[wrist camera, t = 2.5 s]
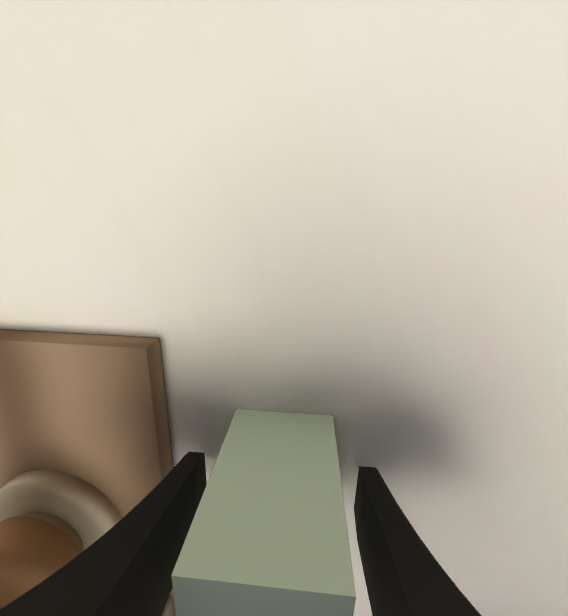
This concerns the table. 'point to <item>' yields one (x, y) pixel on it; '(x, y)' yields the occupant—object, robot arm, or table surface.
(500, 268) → the table surface
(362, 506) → the robot arm
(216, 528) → the block
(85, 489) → the board
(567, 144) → the table surface
